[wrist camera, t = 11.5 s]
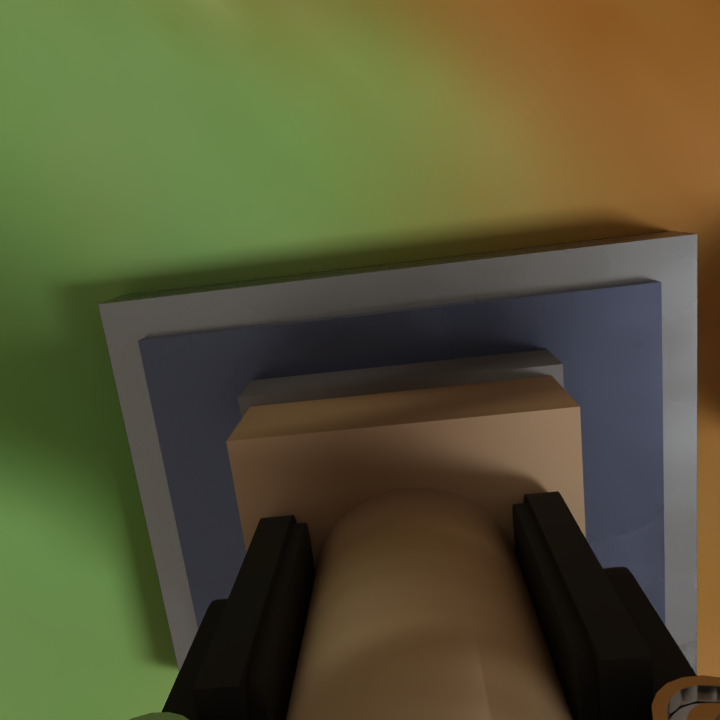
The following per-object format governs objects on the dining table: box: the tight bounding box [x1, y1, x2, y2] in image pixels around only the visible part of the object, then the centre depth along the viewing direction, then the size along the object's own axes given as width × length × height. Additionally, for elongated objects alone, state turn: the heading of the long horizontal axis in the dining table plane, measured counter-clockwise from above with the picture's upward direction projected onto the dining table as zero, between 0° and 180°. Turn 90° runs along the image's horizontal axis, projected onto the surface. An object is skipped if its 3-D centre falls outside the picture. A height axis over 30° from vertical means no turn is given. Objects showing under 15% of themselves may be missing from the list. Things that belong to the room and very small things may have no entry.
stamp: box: [226, 349, 586, 720], centre depth 9 cm, size 6×6×10 cm
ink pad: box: [98, 231, 697, 675], centre depth 15 cm, size 12×10×2 cm
